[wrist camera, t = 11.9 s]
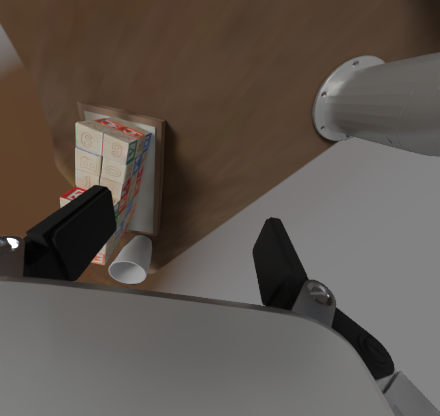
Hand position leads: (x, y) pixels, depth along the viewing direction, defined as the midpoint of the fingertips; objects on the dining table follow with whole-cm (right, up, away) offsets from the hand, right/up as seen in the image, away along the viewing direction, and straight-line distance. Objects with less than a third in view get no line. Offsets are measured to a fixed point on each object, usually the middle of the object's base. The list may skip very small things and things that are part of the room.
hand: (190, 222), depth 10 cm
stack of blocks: (-17, +7, +23) cm, 29 cm away
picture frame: (-17, +7, +26) cm, 32 cm away
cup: (-20, -9, +37) cm, 43 cm away
